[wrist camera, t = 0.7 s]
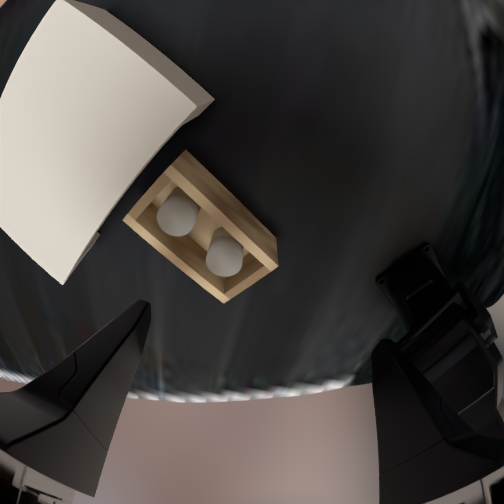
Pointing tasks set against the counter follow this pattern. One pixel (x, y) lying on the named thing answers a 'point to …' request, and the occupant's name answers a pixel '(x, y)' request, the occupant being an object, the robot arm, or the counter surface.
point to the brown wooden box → (204, 229)
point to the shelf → (82, 129)
